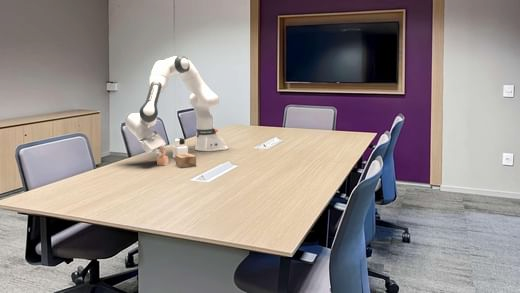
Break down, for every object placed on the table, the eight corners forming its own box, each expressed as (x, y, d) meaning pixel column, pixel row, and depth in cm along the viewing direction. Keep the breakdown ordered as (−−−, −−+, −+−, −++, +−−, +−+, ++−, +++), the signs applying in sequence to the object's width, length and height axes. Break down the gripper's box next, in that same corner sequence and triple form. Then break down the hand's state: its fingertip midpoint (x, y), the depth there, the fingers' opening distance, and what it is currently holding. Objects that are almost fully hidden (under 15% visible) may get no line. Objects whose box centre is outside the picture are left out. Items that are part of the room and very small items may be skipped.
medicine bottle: (182, 156, 290) (181, 137, 287) (188, 157, 284) (187, 138, 282) (172, 157, 285) (171, 138, 283) (178, 159, 280) (177, 139, 277)
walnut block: (190, 163, 268) (189, 153, 267) (196, 166, 260) (195, 156, 259) (175, 165, 264) (175, 155, 263) (181, 168, 256) (180, 157, 255)
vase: (160, 163, 268) (159, 146, 266) (168, 163, 267) (167, 146, 265) (157, 165, 264) (156, 148, 262) (164, 165, 263) (164, 148, 261)
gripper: (141, 136, 254) (159, 154, 253) (157, 131, 273) (173, 147, 273) (135, 144, 255) (152, 161, 255) (151, 138, 275) (167, 154, 275)
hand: (163, 154), depth 264 cm, fingers open, 3 cm apart
